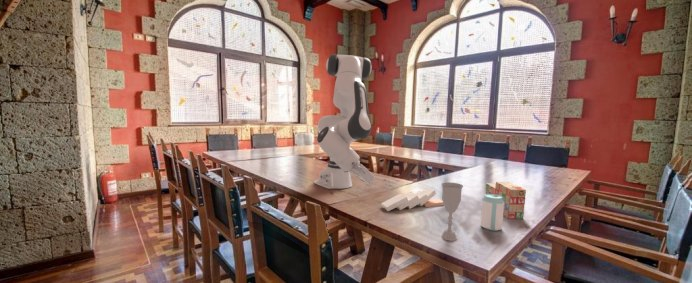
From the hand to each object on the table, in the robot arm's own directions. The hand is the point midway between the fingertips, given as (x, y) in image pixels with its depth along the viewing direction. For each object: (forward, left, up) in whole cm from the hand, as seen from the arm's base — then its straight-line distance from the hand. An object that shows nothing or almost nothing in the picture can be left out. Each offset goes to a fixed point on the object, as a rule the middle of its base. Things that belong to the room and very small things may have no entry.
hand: (370, 182), depth 123 cm
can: (+43, +16, -12) cm, 48 cm away
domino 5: (+13, +22, -12) cm, 28 cm away
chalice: (+35, -3, -12) cm, 38 cm away
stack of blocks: (+41, +41, -12) cm, 60 cm away
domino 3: (+9, +15, -11) cm, 20 cm away
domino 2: (+7, +10, -11) cm, 16 cm away
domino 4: (+11, +20, -11) cm, 25 cm away
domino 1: (+4, +6, -11) cm, 13 cm away
